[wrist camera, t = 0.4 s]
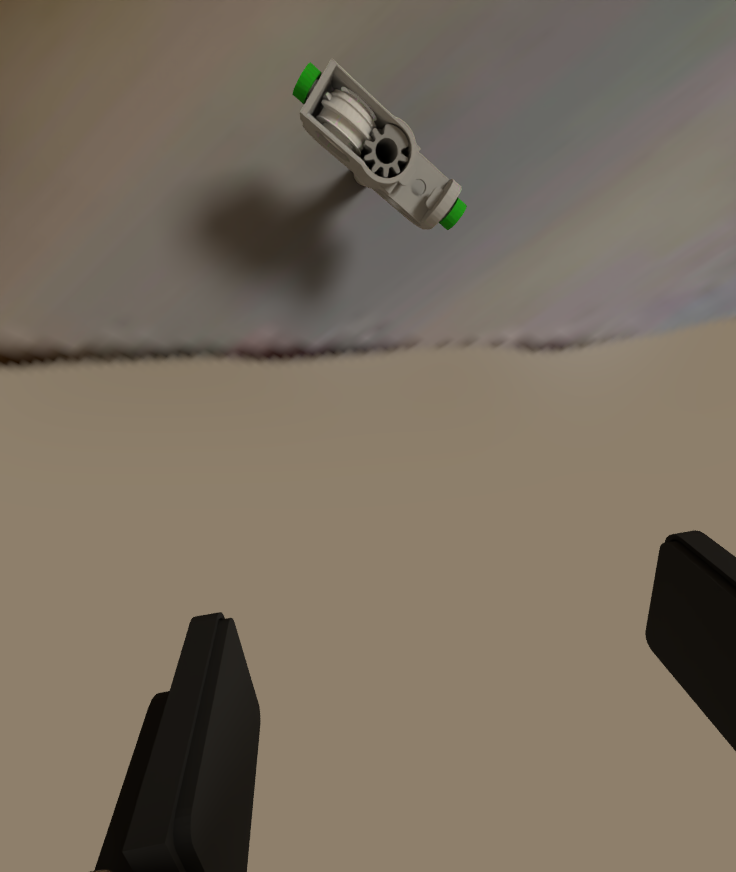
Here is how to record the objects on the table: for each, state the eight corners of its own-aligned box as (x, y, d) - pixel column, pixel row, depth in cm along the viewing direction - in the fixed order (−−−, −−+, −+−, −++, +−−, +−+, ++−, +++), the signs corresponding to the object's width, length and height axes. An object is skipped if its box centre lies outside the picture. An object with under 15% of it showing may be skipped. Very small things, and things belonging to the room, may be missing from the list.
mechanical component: (408, 238, 35) (444, 241, 26) (289, 140, 32) (283, 102, 22) (433, 203, 34) (479, 192, 25) (315, 98, 31) (319, 41, 22)
